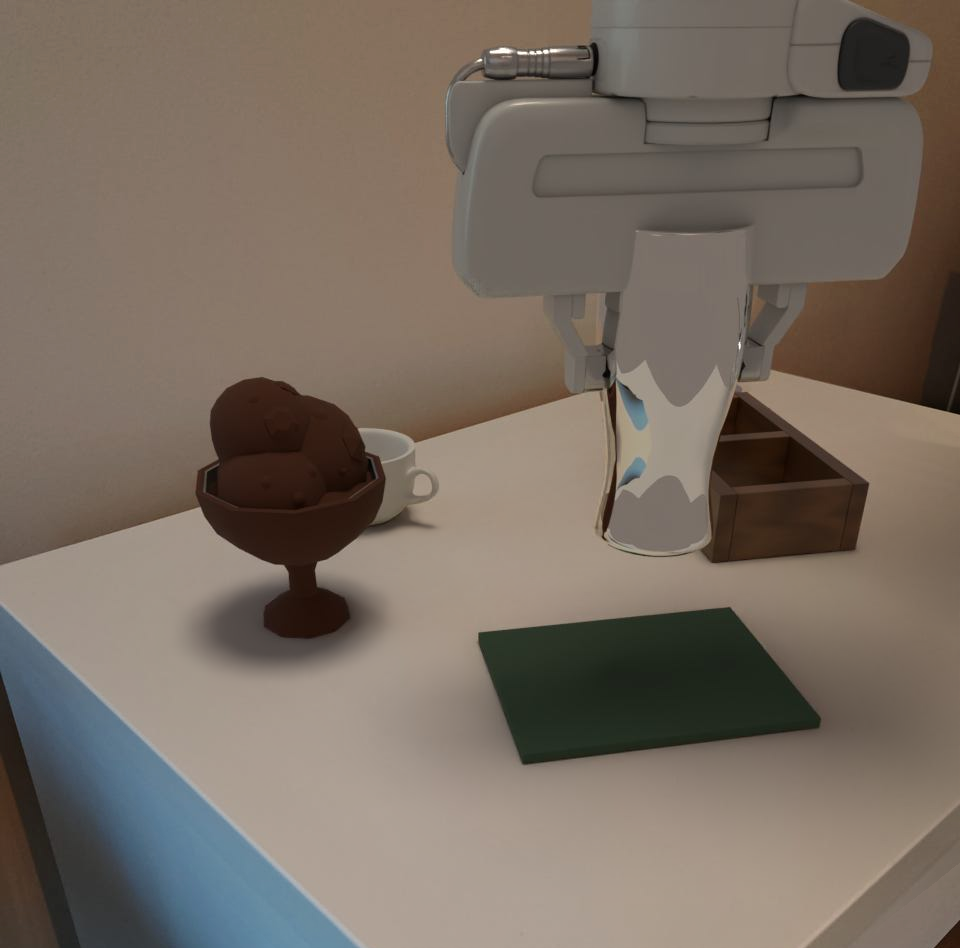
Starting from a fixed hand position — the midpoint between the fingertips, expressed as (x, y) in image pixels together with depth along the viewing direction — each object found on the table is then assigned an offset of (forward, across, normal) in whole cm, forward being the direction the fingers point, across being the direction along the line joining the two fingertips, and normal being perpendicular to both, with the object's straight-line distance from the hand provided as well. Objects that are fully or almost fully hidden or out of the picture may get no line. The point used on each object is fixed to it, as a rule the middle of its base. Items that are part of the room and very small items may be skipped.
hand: (667, 384), depth 47 cm
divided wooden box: (+17, +15, +23) cm, 32 cm away
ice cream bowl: (+17, -18, +11) cm, 27 cm away
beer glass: (+8, 0, 0) cm, 8 cm away
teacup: (+17, -12, +25) cm, 33 cm away
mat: (+17, 0, 0) cm, 17 cm away
